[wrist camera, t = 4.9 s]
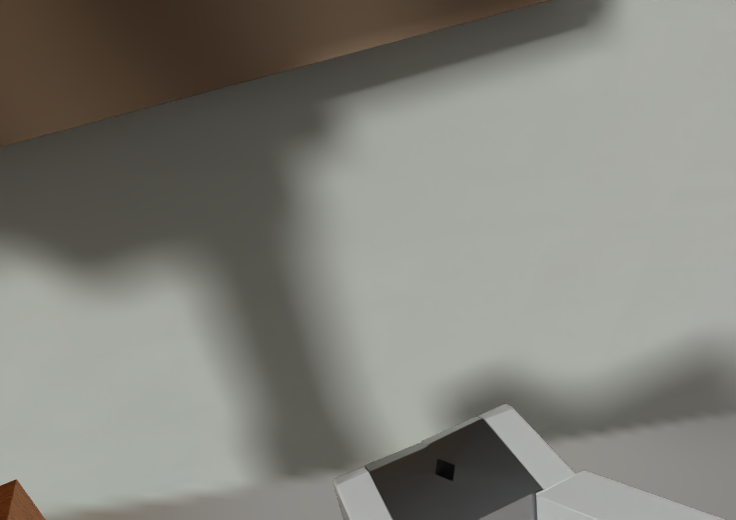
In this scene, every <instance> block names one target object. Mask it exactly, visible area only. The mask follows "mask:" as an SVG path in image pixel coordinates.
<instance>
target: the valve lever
mask: <svg viewBox="0 0 736 520" xmlns="http://www.w3.org/2000/svg"><path fill="white" fill-rule="evenodd" d="M0 520H46V519H45V518H44V517H43V515H42V514H41V513H40V511H39V510H38V508H37V507H36V506H35V504H34V503H33V501H32V500H31V499H30V497H29V496H28V495H27V493H26V492H25V490H24V489H23V488H22V486H21V485H20V483H19V482H18V481H17V479H16V480H14V481H11V482H9V483H6V484H4V485H1V486H0Z"/></svg>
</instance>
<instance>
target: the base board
mask: <svg viewBox="0 0 736 520" xmlns="http://www.w3.org/2000/svg"><path fill="white" fill-rule="evenodd" d="M545 1H549V0H0V147H2V146H6V145H10V144H14V143H17V142H21V141H25V140H29V139H32V138H36V137H40V136H44V135H47V134H51V133H55V132H59V131H62V130H66V129H70V128H74V127H77V126H81V125H85V124H89V123H92V122H96V121H100V120H103V119H107V118H111V117H115V116H118V115H122V114H126V113H130V112H133V111H137V110H141V109H145V108H148V107H152V106H156V105H160V104H163V103H167V102H171V101H175V100H178V99H182V98H186V97H190V96H193V95H197V94H201V93H205V92H208V91H212V90H216V89H220V88H223V87H227V86H231V85H234V84H238V83H242V82H246V81H249V80H253V79H257V78H261V77H264V76H268V75H272V74H276V73H279V72H283V71H287V70H291V69H294V68H298V67H302V66H306V65H309V64H313V63H317V62H321V61H324V60H328V59H332V58H336V57H339V56H343V55H347V54H351V53H354V52H358V51H362V50H365V49H369V48H373V47H377V46H380V45H384V44H388V43H392V42H395V41H399V40H403V39H407V38H410V37H414V36H418V35H422V34H425V33H429V32H433V31H437V30H440V29H444V28H448V27H452V26H455V25H459V24H463V23H467V22H470V21H474V20H478V19H482V18H485V17H489V16H493V15H496V14H500V13H504V12H508V11H511V10H515V9H519V8H523V7H526V6H530V5H534V4H538V3H541V2H545Z"/></svg>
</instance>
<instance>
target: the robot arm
mask: <svg viewBox="0 0 736 520" xmlns="http://www.w3.org/2000/svg"><path fill="white" fill-rule="evenodd" d="M333 485H334V488H335V492H336V495H337V499H338V502H339V506H340V509H341V512H342V516H343V519H344V520H725V519H722V518H720V517H717V516H714V515H711V514H708V513H705V512H702V511H699V510H697V509H694V508H691V507H688V506H686V505H682V504H680V503H677V502H674V501H671V500H668V499H665V498H663V497H660V496H657V495H654V494H651V493H649V492H646V491H643V490H640V489H637V488H635V487H632V486H629V485H626V484H623V483H620V482H618V481H615V480H612V479H609V478H606V477H604V476H601V475H598V474H595V473H592V472H589V471H587V470H583V471H581V472H579V473H575V472H574V471H573V470H572V469H571V468H570V467H569V466H568V465H567V464H566V462H565V461H564V460H563V459H562V458H561V457H560V456H559V455H558V454H557V453H556V452H555V451H554V450H553V449H552V448H551V447H550V446H549V445H548V444H547V443H546V442H545V441H544V440H543V439H542V438H541V436H540V435H539V434H538V433H537V432H536V431H535V430H534V429H533V428H532V427H531V426H530V425H529V424H528V423H527V422H526V421H525V420H524V419H523V418H522V417H521V416H520V415H519V414H518V413H517V412H516V411H515V409H514V408H513V407H512V406H509V405H507V404H504V405H501V406H499V407H497V408H495V409H492V410H490V411H488V412H486V413H483V414H481V415H479V416H478V417H473V418H471V419H469V420H467V421H465V422H462V423H460V424H458V425H456V426H454V427H451V428H449V429H447V430H445V431H443V432H441V433H438V434H436V435H434V436H432V437H430V438H427V439H425V440H423V441H421V443H418V444H416V445H413V446H411V447H408V448H406V449H404V450H401V451H399V452H396V453H394V454H391V455H389V456H386V457H384V458H382V459H379V460H377V461H374V462H372V463H369V464H367V465H365V467H361V468H358V469H356V470H354V471H351V472H349V473H346V474H344V475H342V476H339V477H337V478H334V479H333Z"/></svg>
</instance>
